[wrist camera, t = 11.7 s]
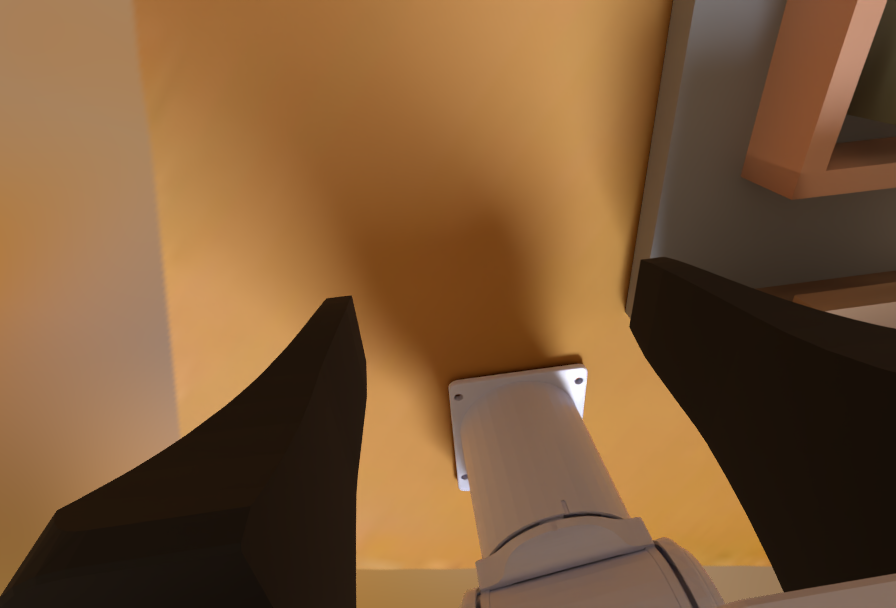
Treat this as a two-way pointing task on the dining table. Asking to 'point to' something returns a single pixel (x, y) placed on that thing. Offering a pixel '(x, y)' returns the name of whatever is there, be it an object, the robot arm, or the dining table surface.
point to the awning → (847, 296)
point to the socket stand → (768, 146)
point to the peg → (878, 74)
